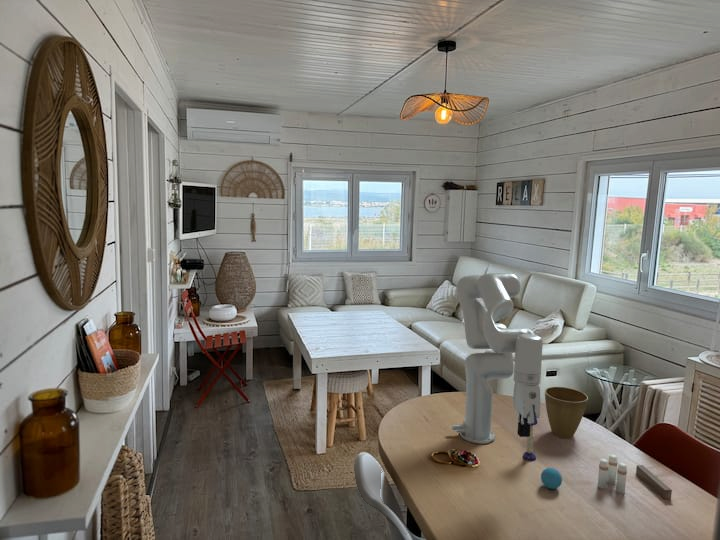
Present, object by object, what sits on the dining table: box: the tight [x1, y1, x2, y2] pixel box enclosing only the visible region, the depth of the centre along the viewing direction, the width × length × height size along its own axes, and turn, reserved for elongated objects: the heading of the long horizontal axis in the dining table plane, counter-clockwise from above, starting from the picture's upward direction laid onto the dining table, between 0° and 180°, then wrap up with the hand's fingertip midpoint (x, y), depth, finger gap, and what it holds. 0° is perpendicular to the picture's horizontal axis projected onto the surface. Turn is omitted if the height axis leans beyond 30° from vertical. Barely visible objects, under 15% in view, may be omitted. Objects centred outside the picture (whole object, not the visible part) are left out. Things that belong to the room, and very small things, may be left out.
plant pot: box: [544, 386, 589, 440], centre depth 186 cm, size 15×15×16 cm
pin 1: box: [607, 454, 619, 485], centre depth 155 cm, size 2×2×8 cm
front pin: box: [597, 458, 609, 490], centre depth 152 cm, size 2×2×8 cm
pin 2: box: [615, 462, 628, 495], centre depth 150 cm, size 2×2×8 cm
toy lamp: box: [522, 415, 538, 462], centre depth 168 cm, size 5×5×17 cm
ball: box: [540, 467, 563, 490], centre depth 151 cm, size 6×6×6 cm
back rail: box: [635, 464, 673, 501], centre depth 153 cm, size 2×14×3 cm, turn 3°
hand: (523, 435), depth 149 cm, fingers closed
